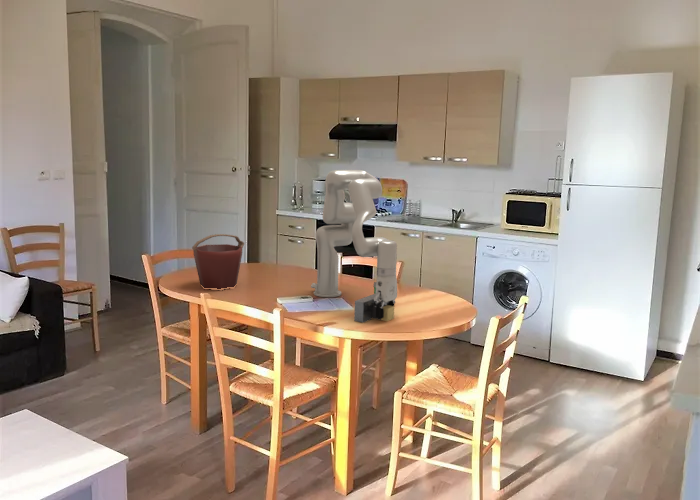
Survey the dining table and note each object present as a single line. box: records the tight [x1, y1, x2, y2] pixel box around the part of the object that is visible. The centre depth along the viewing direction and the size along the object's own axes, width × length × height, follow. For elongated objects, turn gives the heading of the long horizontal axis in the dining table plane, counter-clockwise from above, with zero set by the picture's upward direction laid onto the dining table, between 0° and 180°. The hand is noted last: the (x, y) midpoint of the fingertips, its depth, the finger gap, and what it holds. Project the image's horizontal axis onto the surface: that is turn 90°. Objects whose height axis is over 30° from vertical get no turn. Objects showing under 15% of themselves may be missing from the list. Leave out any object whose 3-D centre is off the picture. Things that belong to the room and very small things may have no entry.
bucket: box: [191, 233, 245, 289], centre depth 291 cm, size 24×22×25 cm
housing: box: [354, 293, 388, 323], centre depth 247 cm, size 4×20×8 cm, turn 147°
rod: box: [371, 303, 395, 322], centre depth 247 cm, size 14×5×5 cm, turn 57°
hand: (385, 315), depth 245 cm, fingers open, 7 cm apart
